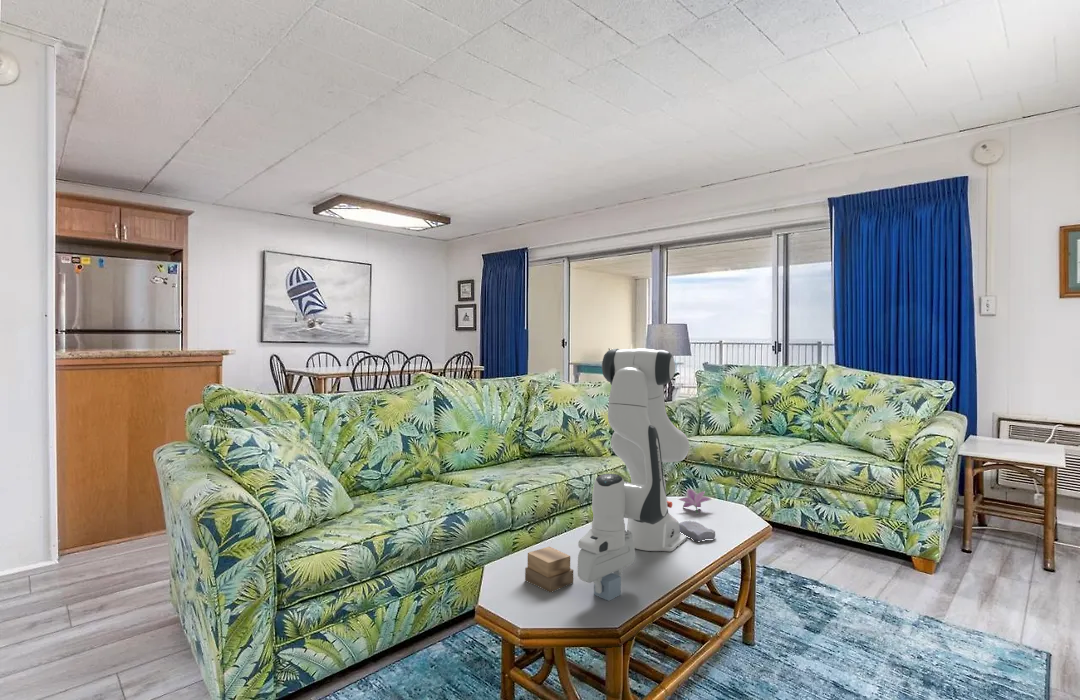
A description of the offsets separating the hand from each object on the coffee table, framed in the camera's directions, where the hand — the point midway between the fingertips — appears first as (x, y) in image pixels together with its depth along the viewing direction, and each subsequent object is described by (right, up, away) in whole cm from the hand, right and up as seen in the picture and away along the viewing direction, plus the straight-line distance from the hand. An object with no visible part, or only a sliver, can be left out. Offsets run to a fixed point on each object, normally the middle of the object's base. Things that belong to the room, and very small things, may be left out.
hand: (607, 588), depth 149 cm
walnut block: (-15, -2, +8) cm, 17 cm away
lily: (+44, -2, +76) cm, 88 cm away
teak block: (-15, +2, +8) cm, 17 cm away
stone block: (+38, -2, +48) cm, 61 cm away
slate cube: (0, -2, 0) cm, 2 cm away
